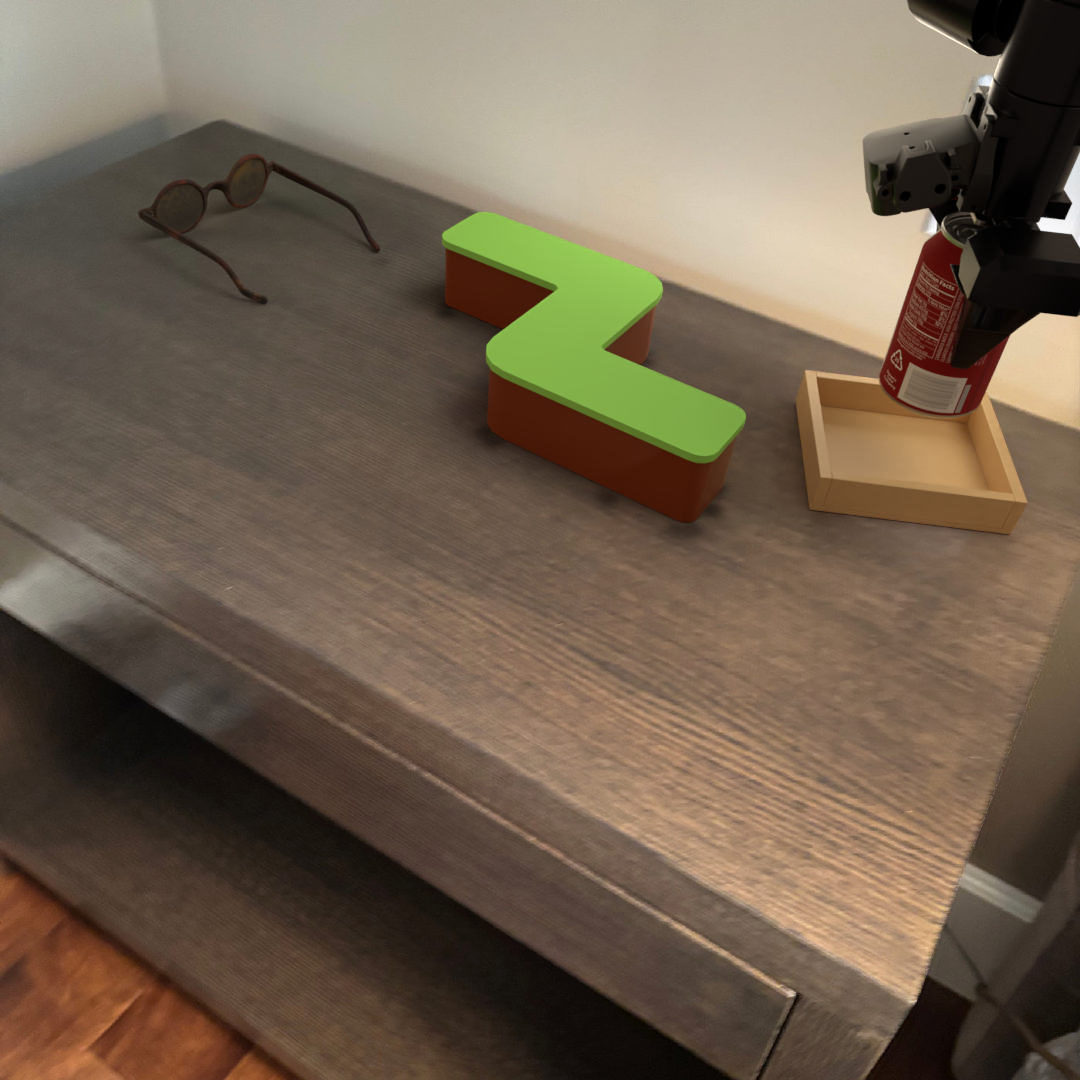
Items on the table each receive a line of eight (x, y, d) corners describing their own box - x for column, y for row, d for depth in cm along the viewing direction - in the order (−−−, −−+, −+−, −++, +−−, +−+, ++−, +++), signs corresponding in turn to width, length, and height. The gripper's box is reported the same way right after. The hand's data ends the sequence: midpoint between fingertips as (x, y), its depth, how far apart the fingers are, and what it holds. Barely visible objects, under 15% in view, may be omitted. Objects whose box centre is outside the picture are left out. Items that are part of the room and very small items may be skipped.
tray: (973, 422, 78) (987, 391, 76) (1010, 534, 69) (1028, 502, 67) (795, 401, 78) (804, 369, 76) (809, 509, 69) (820, 477, 67)
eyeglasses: (276, 193, 97) (270, 140, 94) (388, 248, 91) (386, 194, 87) (144, 245, 88) (132, 189, 85) (258, 310, 82) (250, 253, 79)
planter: (340, 365, 77) (335, 296, 73) (480, 272, 89) (482, 208, 85) (692, 531, 67) (709, 461, 63) (799, 401, 78) (819, 335, 74)
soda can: (956, 440, 66) (1027, 272, 57) (859, 398, 68) (914, 232, 60) (992, 393, 70) (1063, 230, 61) (899, 355, 72) (956, 194, 64)
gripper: (874, 17, 62) (809, 253, 73) (927, 139, 49) (838, 406, 59) (1059, 37, 62) (966, 271, 73) (1163, 165, 48) (1031, 429, 59)
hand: (947, 336), depth 66 cm, fingers closed on soda can, 7 cm apart
